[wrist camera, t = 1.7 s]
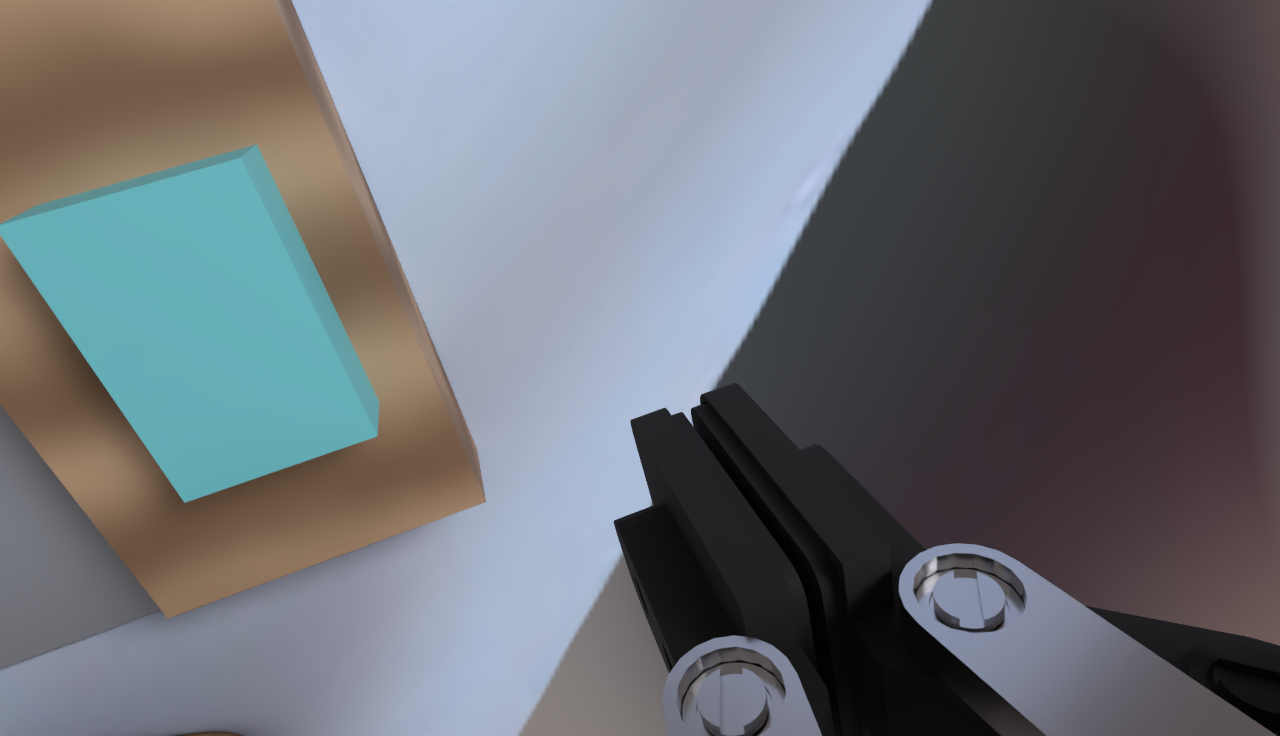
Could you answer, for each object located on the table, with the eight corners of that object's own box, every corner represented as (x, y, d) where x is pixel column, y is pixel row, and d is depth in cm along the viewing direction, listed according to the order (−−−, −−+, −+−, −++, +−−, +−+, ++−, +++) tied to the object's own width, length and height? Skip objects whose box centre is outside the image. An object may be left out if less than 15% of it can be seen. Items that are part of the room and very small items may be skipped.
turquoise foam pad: (36, 204, 20) (-6, 226, 18) (256, 143, 21) (240, 157, 19) (203, 461, 24) (184, 502, 22) (379, 402, 25) (377, 436, 23)
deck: (-175, 26, 20) (-293, 28, 17) (260, -75, 22) (233, -93, 19) (194, 549, 30) (167, 618, 26) (476, 449, 32) (485, 501, 28)
